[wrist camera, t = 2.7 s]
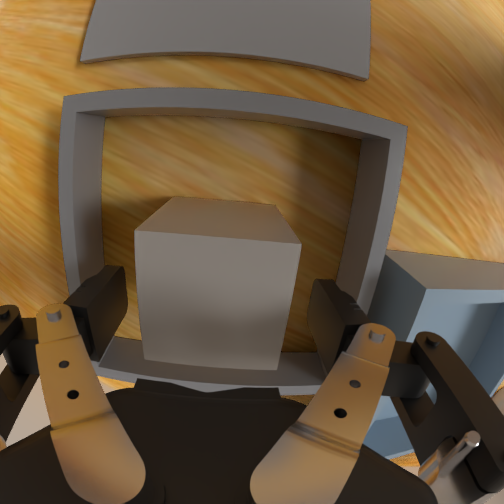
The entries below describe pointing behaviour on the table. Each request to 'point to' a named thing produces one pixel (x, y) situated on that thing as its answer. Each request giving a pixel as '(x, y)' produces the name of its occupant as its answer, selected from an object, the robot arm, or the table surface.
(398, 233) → the table surface
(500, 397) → the bottle
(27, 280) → the table surface
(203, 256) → the stone block
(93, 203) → the gray square frame
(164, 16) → the bin lid
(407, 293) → the slate blue bin
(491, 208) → the table surface
